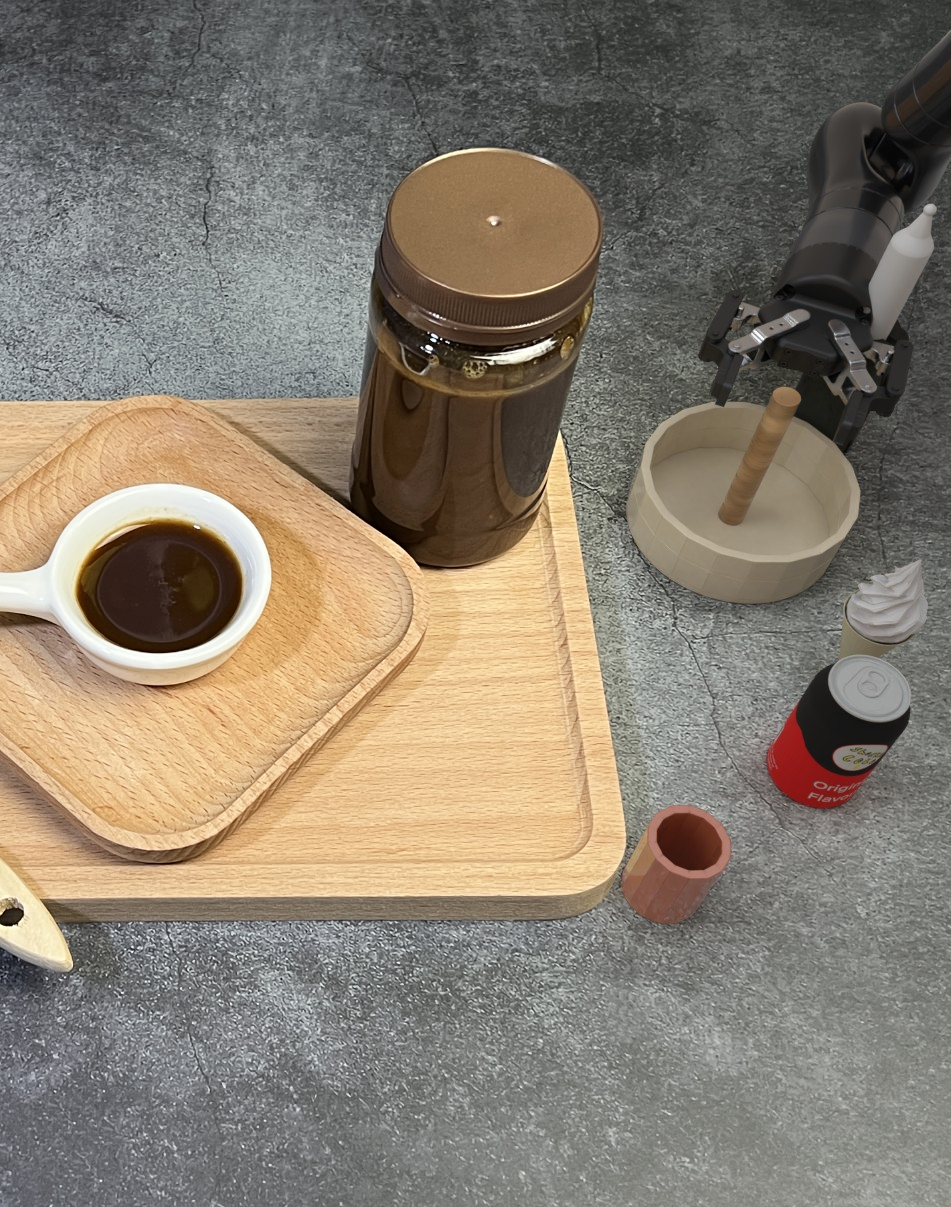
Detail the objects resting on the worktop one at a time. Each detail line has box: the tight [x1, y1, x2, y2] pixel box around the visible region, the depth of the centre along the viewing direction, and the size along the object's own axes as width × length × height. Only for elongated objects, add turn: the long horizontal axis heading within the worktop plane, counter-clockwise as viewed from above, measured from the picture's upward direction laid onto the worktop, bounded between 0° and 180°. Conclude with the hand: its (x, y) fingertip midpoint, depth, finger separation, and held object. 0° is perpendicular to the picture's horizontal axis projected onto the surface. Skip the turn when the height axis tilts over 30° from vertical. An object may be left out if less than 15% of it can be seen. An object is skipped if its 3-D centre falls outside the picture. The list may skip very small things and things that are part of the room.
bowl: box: [625, 401, 861, 605], centre depth 114 cm, size 16×16×6 cm
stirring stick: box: [718, 386, 801, 525], centre depth 111 cm, size 2×2×14 cm
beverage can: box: [766, 655, 912, 809], centre depth 98 cm, size 6×6×12 cm
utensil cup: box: [621, 804, 732, 925], centre depth 95 cm, size 5×5×8 cm
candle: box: [794, 203, 937, 455], centre depth 111 cm, size 5×5×25 cm
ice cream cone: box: [837, 558, 929, 662], centre depth 102 cm, size 5×5×15 cm
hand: (781, 417), depth 104 cm, fingers open, 8 cm apart
